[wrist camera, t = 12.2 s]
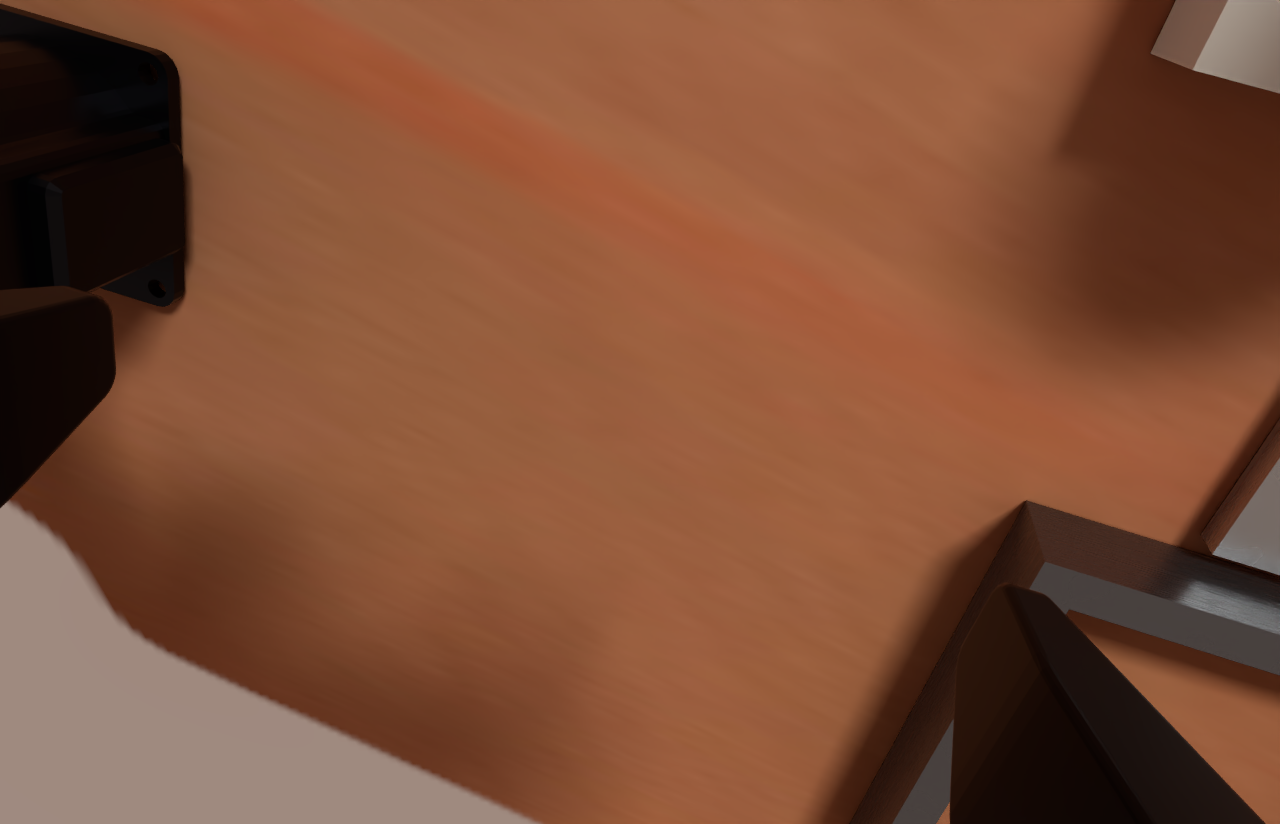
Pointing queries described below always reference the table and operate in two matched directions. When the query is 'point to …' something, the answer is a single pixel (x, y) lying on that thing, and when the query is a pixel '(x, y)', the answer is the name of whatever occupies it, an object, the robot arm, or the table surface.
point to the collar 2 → (1225, 40)
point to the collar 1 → (1096, 586)
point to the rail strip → (1251, 513)
